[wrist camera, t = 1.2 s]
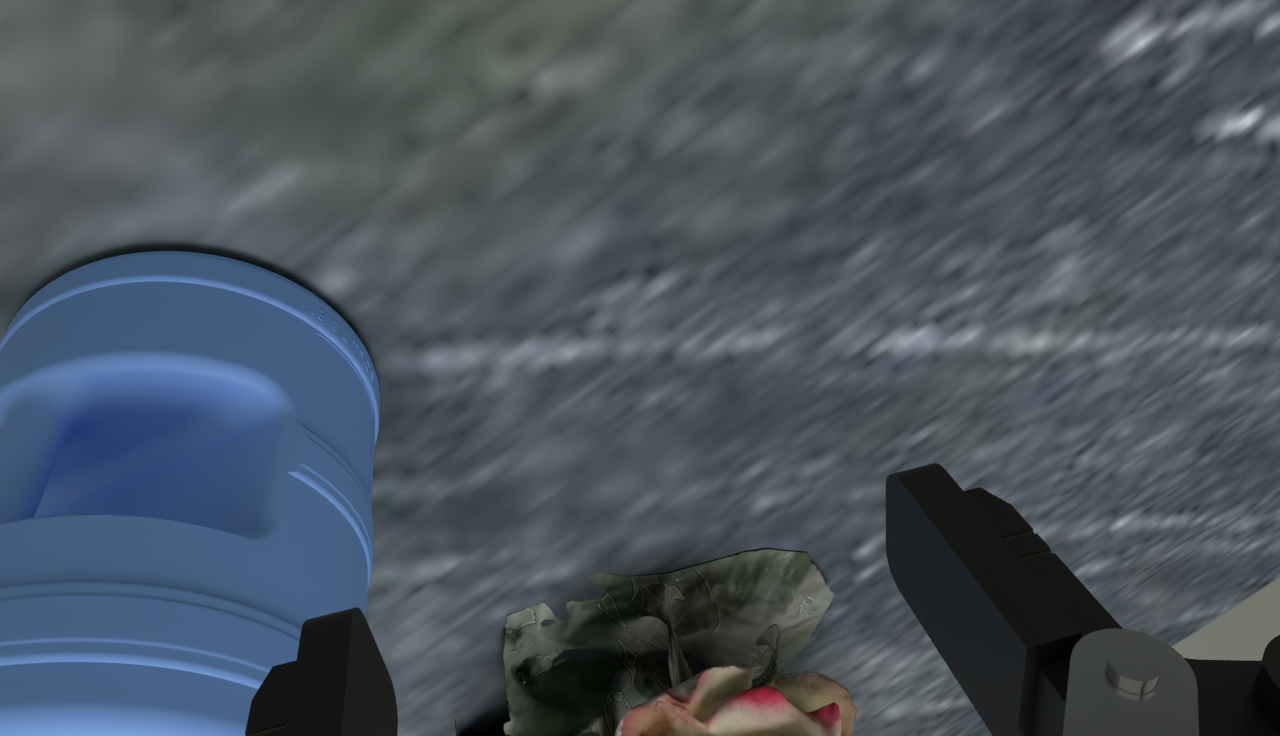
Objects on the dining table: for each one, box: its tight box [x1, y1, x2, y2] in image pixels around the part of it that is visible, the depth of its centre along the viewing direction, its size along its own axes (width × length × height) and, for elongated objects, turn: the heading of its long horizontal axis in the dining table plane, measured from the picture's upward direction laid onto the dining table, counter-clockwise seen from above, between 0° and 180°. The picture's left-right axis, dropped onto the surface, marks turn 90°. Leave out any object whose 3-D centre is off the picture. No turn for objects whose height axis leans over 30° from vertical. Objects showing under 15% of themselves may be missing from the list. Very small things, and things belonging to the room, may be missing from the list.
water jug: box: [0, 251, 380, 736], centre depth 32 cm, size 16×16×28 cm
